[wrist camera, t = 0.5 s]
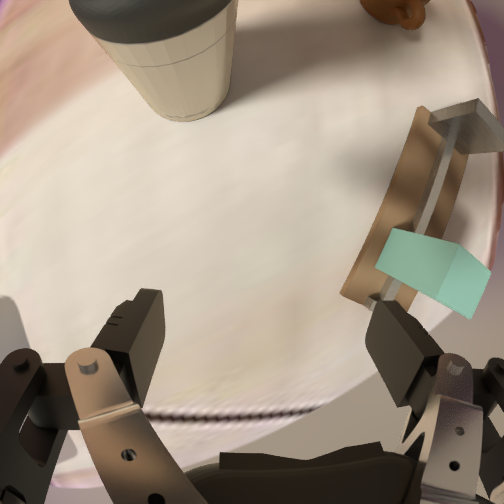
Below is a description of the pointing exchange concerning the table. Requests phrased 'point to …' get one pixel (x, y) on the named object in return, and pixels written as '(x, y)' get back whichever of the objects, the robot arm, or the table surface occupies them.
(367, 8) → the mug
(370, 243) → the board
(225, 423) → the table surface
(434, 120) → the rail
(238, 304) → the table surface
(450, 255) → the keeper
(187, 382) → the table surface
